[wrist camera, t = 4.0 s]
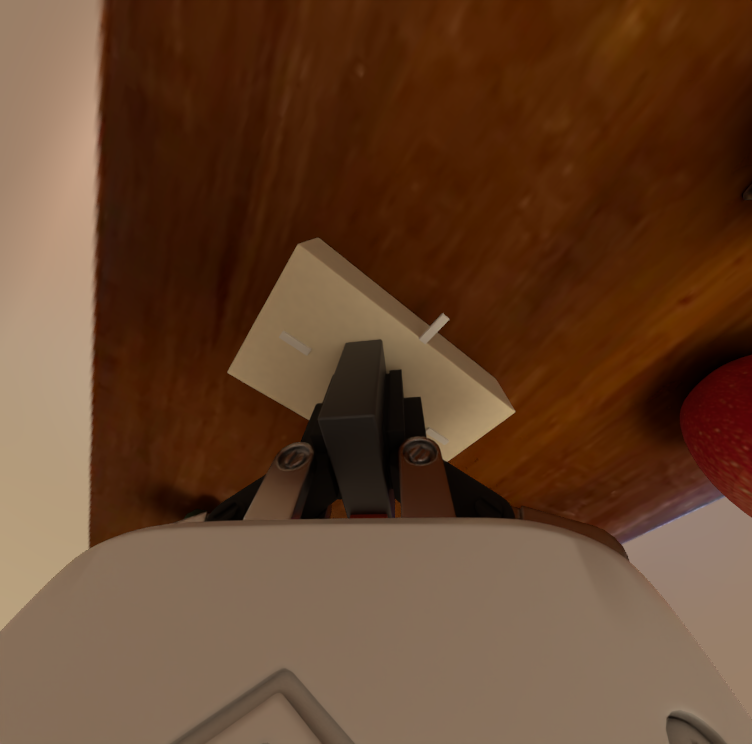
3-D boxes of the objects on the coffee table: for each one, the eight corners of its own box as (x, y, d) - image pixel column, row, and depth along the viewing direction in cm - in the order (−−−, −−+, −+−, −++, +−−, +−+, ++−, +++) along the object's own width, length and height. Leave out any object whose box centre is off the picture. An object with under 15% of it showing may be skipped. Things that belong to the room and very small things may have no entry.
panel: (245, 362, 16) (214, 393, 13) (333, 208, 12) (315, 208, 9) (401, 456, 19) (403, 496, 16) (515, 362, 15) (542, 396, 12)
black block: (345, 341, 12) (313, 424, 7) (382, 338, 11) (374, 421, 7) (364, 437, 14) (350, 540, 10) (394, 435, 14) (395, 540, 10)
